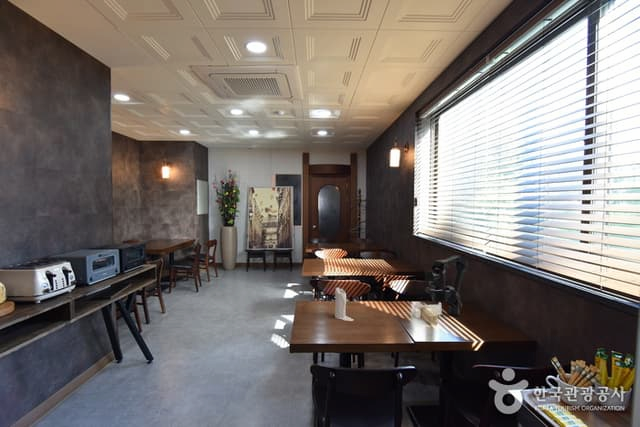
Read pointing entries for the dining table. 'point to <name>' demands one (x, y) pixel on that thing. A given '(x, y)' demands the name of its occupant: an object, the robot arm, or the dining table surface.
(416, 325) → the dining table surface
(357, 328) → the dining table surface
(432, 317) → the rail
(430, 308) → the headboard
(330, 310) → the dining table surface
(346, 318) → the white boot
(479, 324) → the dining table surface
